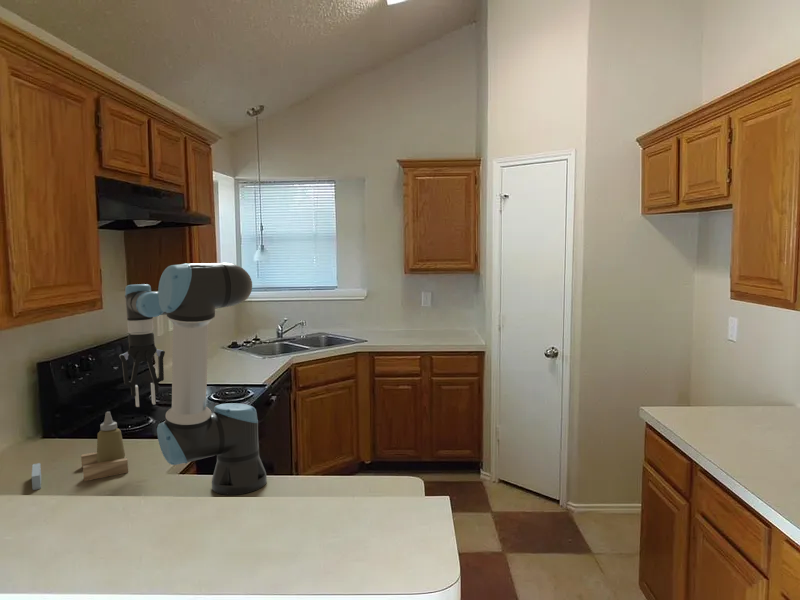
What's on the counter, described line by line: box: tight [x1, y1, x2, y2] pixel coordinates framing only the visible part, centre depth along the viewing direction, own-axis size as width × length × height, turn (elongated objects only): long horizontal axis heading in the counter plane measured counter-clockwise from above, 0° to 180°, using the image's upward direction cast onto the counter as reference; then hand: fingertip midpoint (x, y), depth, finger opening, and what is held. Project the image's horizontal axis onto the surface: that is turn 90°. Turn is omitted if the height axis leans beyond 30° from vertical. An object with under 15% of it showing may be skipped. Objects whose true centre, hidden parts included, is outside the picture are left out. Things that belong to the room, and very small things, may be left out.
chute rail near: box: [82, 457, 129, 482], centre depth 177 cm, size 2×12×4 cm, turn 121°
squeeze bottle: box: [96, 411, 126, 463], centre depth 183 cm, size 8×8×18 cm
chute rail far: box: [80, 451, 98, 470], centre depth 187 cm, size 2×12×4 cm, turn 121°
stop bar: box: [31, 462, 42, 491], centre depth 173 cm, size 12×2×4 cm, turn 31°
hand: (145, 404), depth 187 cm, fingers open, 4 cm apart
